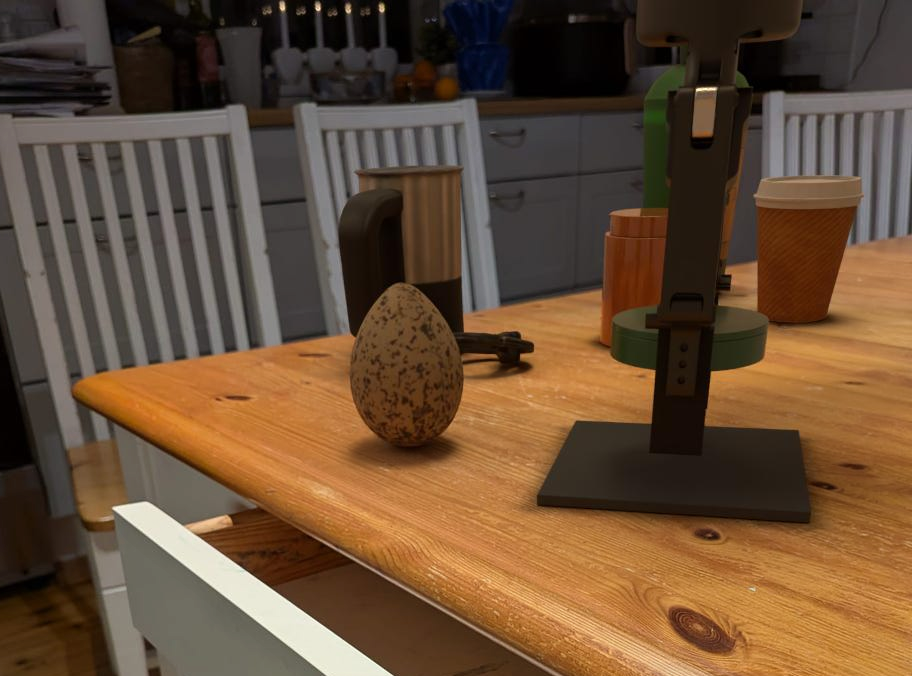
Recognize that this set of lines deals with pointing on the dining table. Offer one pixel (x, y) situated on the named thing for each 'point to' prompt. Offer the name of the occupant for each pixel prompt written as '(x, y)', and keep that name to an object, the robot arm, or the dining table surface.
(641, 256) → the jam jar
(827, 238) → the disposable coffee cup
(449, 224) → the milk frother
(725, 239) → the bottle
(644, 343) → the jar lid
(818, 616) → the dining table surface
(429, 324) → the decorative egg
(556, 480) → the mat
